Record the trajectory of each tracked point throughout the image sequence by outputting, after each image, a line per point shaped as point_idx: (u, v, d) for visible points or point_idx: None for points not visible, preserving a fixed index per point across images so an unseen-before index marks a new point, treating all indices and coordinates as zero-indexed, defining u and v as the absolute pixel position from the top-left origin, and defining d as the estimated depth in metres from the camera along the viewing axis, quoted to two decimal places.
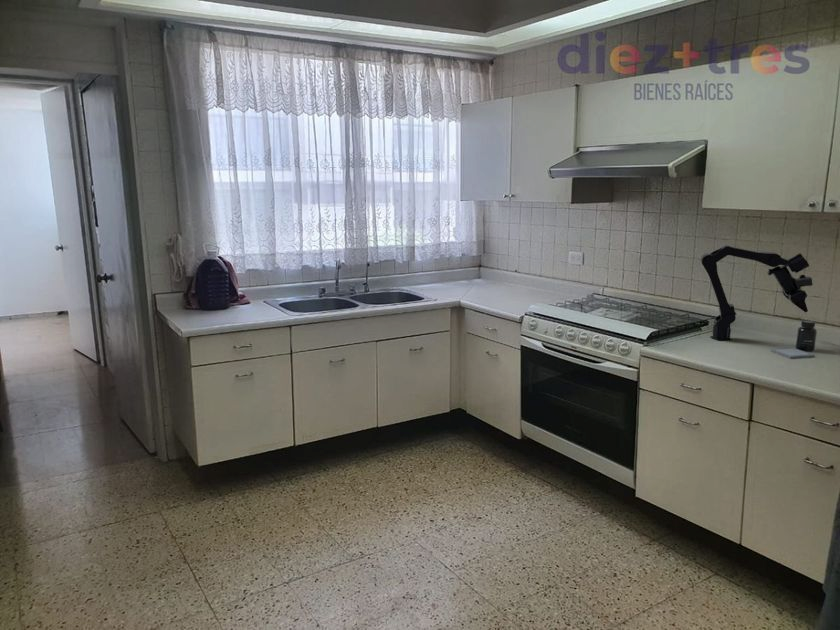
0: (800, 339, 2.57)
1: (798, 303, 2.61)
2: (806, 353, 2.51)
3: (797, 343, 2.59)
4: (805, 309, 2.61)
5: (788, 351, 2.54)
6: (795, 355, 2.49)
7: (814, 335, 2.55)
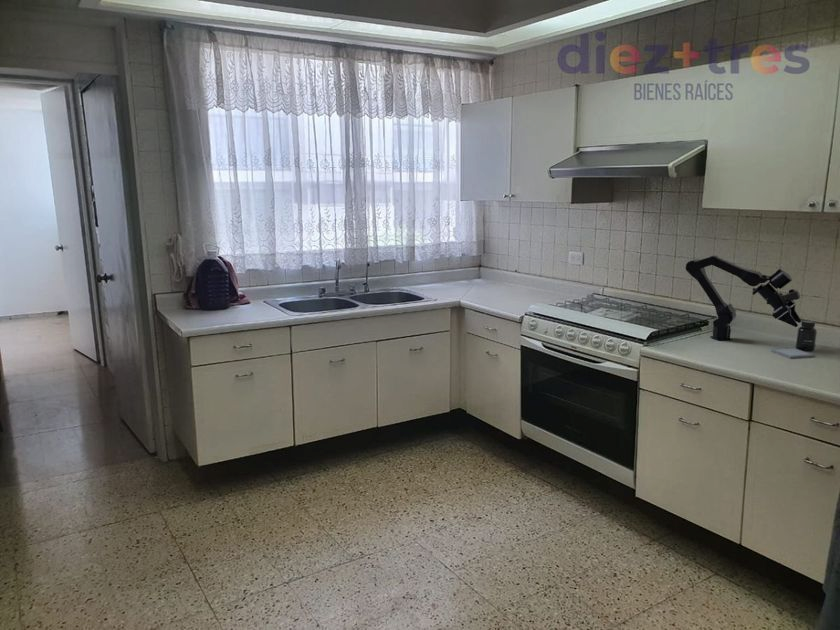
0: (800, 339, 2.57)
1: (785, 319, 2.57)
2: (806, 353, 2.51)
3: (797, 343, 2.59)
4: (794, 323, 2.56)
5: (788, 351, 2.54)
6: (795, 355, 2.49)
7: (814, 335, 2.55)
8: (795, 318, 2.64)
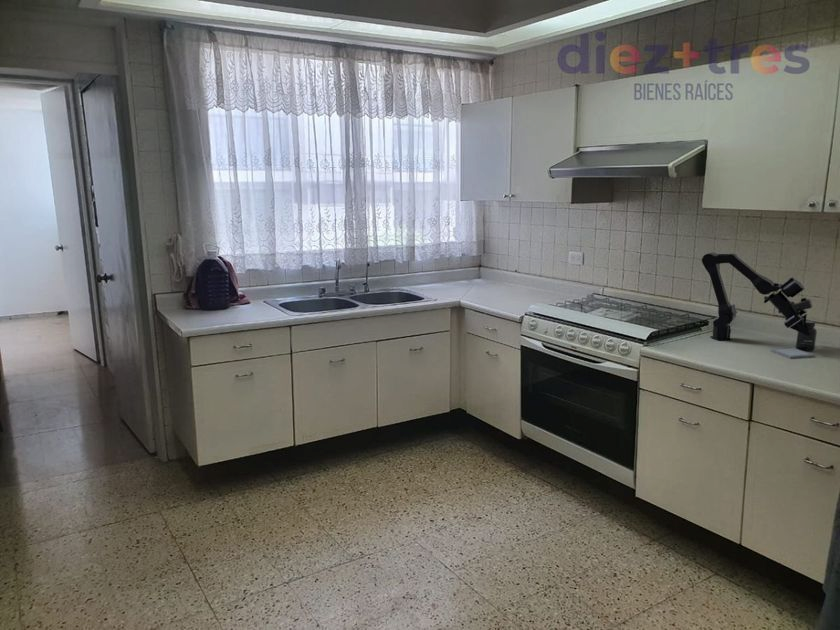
0: (800, 339, 2.57)
1: (797, 327, 2.56)
2: (806, 353, 2.51)
3: (797, 343, 2.59)
4: (806, 332, 2.55)
5: (788, 351, 2.54)
6: (795, 355, 2.49)
7: (814, 335, 2.55)
8: None
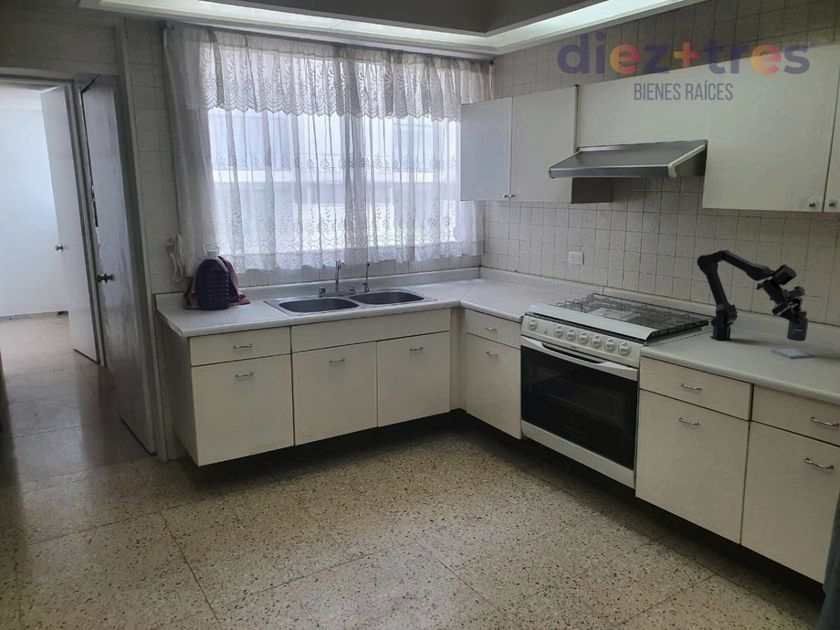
0: (790, 328, 2.51)
1: (786, 315, 2.50)
2: (806, 353, 2.51)
3: (787, 332, 2.53)
4: (795, 321, 2.49)
5: (788, 351, 2.54)
6: (795, 355, 2.49)
7: (804, 324, 2.49)
8: None
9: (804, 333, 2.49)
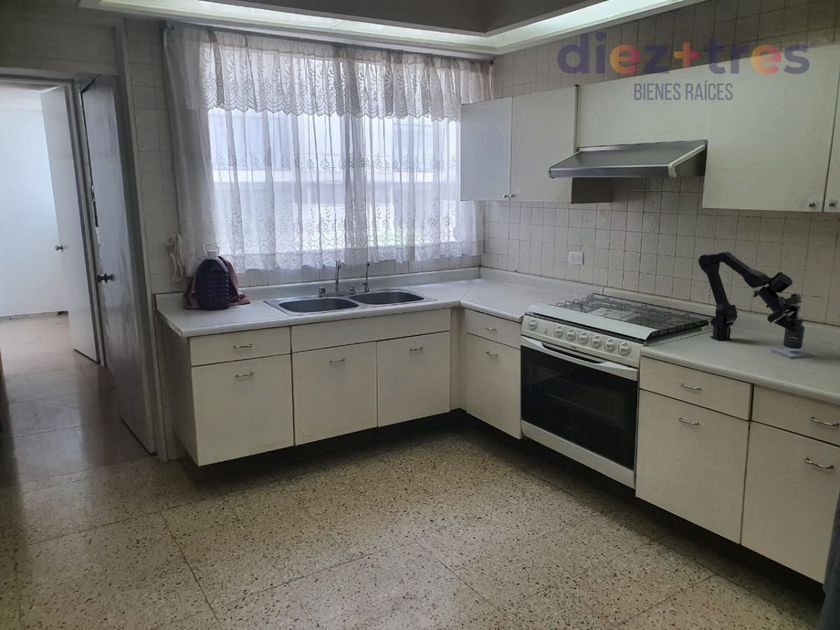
0: (786, 336, 2.51)
1: (782, 323, 2.50)
2: (806, 353, 2.51)
3: (784, 340, 2.53)
4: (791, 328, 2.48)
5: (788, 351, 2.54)
6: (795, 355, 2.49)
7: (800, 332, 2.48)
8: None
9: (800, 341, 2.49)
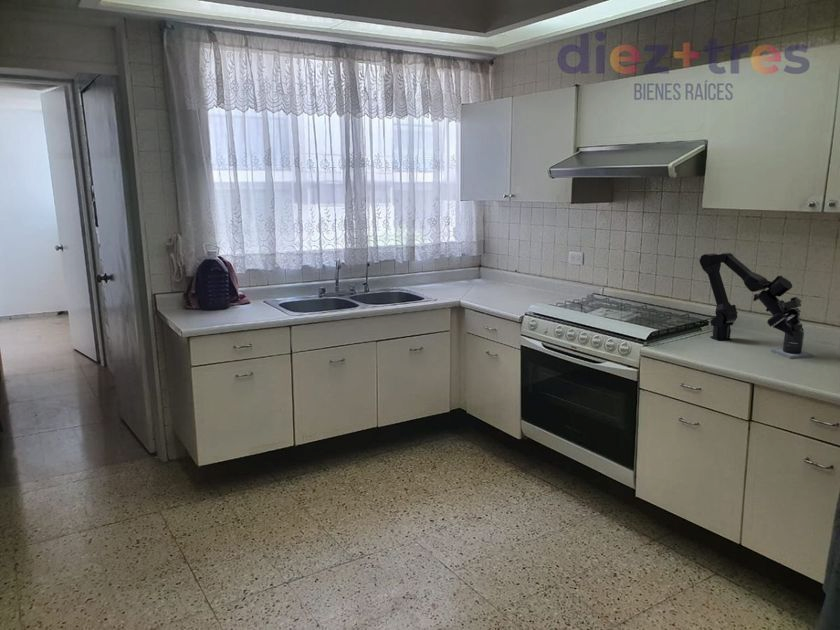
0: (786, 341, 2.52)
1: (781, 327, 2.50)
2: (806, 353, 2.51)
3: (783, 345, 2.54)
4: (790, 332, 2.48)
5: None
6: (795, 355, 2.49)
7: (800, 337, 2.49)
8: None
9: (799, 346, 2.50)
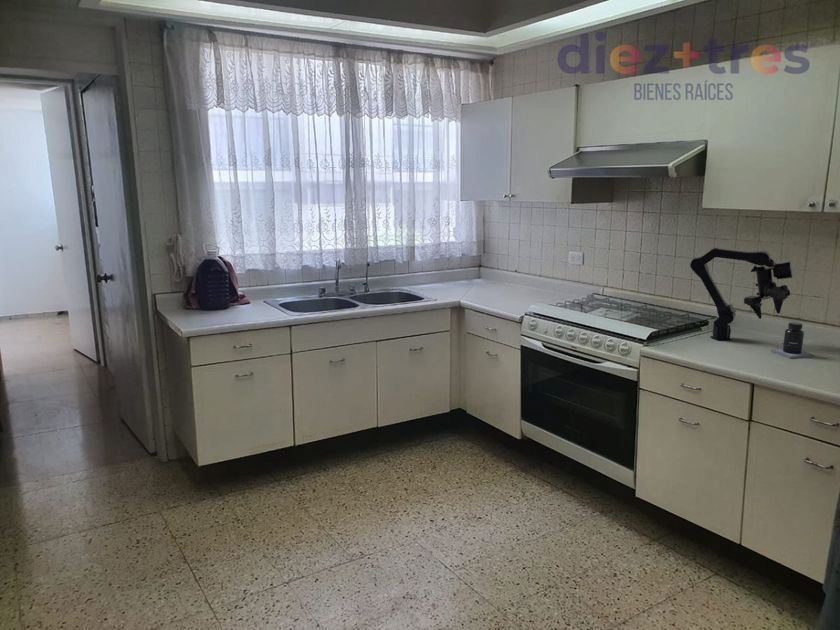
0: (786, 341, 2.52)
1: (753, 307, 2.67)
2: (806, 353, 2.51)
3: (783, 345, 2.54)
4: (758, 315, 2.67)
5: None
6: (795, 355, 2.49)
7: (800, 337, 2.49)
8: (776, 308, 2.69)
9: (799, 346, 2.50)
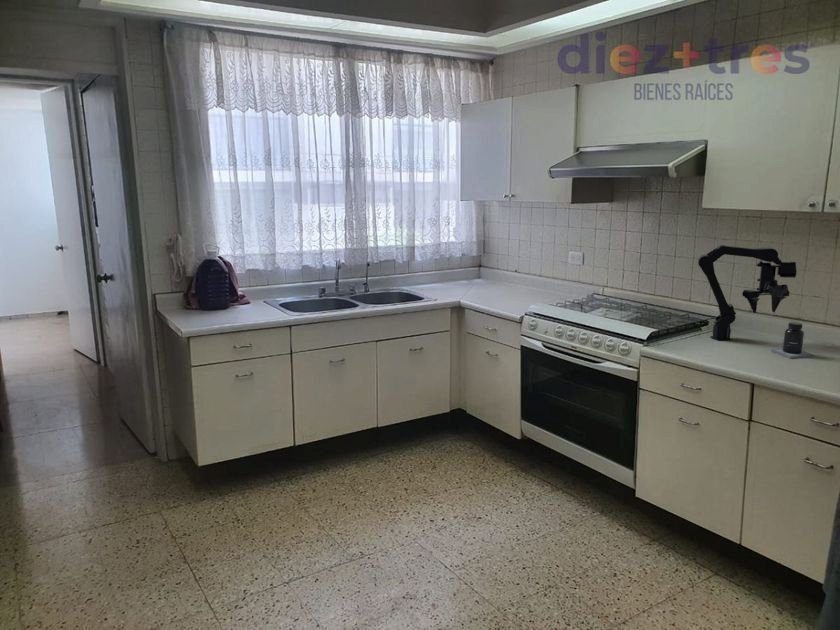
0: (786, 341, 2.52)
1: (750, 301, 2.70)
2: (806, 353, 2.51)
3: (783, 345, 2.54)
4: (753, 309, 2.70)
5: None
6: (795, 355, 2.49)
7: (800, 337, 2.49)
8: (773, 306, 2.72)
9: (799, 346, 2.50)
